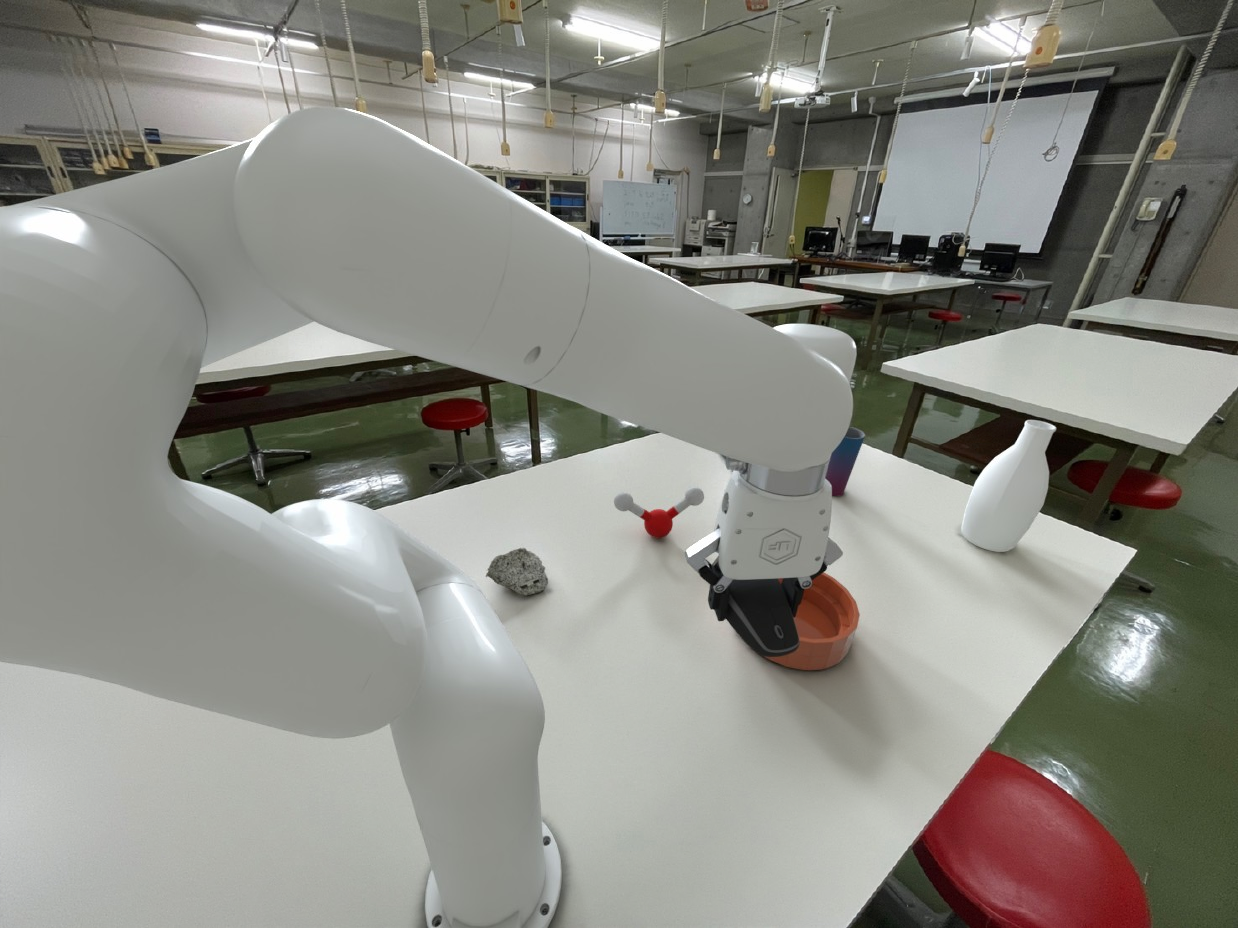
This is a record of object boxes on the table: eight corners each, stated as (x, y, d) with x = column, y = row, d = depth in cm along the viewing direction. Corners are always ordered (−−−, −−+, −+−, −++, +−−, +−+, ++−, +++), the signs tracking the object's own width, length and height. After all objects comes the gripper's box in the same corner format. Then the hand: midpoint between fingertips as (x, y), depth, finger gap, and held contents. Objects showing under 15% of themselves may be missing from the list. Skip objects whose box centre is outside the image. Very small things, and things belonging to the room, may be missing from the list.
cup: (810, 486, 118) (825, 428, 111) (831, 480, 120) (847, 423, 113) (832, 500, 112) (849, 440, 105) (854, 494, 115) (872, 435, 108)
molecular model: (691, 520, 103) (696, 478, 99) (703, 536, 98) (710, 493, 94) (610, 532, 99) (612, 489, 94) (618, 550, 94) (620, 505, 89)
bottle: (965, 550, 98) (1020, 432, 85) (946, 519, 107) (993, 409, 95) (1029, 561, 95) (1094, 441, 83) (1004, 528, 105) (1060, 416, 93)
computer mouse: (751, 665, 48) (757, 636, 46) (700, 580, 58) (704, 554, 57) (814, 651, 50) (823, 622, 48) (754, 571, 60) (760, 544, 58)
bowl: (871, 668, 72) (883, 639, 69) (755, 676, 70) (762, 646, 67) (817, 585, 87) (825, 558, 84) (720, 589, 85) (725, 562, 82)
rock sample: (527, 595, 77) (509, 543, 79) (494, 612, 80) (477, 561, 82) (567, 584, 86) (549, 537, 88) (535, 599, 89) (519, 553, 91)
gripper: (698, 490, 41) (680, 641, 50) (896, 484, 43) (845, 632, 51) (680, 449, 48) (667, 589, 56) (852, 445, 49) (814, 582, 58)
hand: (752, 608), depth 54 cm, fingers closed on computer mouse, 7 cm apart
